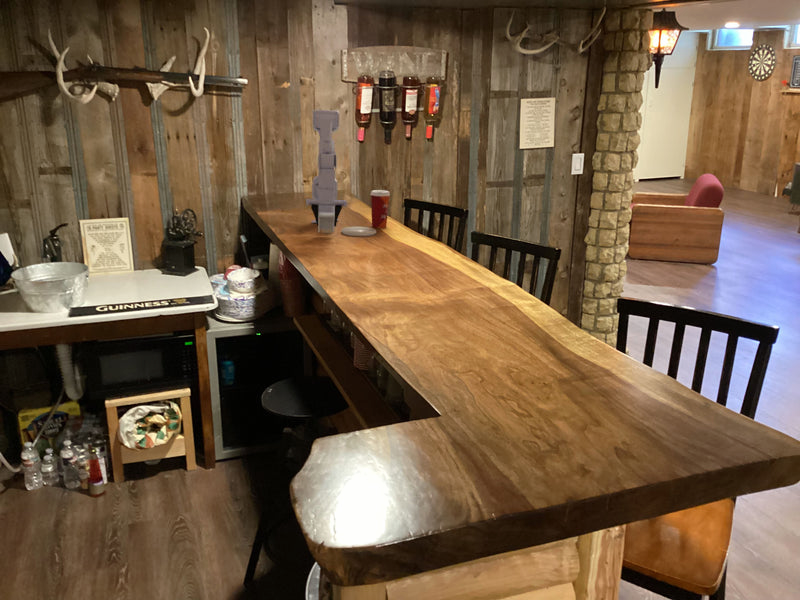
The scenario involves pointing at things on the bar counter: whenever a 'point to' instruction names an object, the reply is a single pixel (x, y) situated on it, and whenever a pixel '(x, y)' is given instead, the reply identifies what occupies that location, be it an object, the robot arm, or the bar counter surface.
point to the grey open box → (326, 221)
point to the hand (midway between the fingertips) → (326, 225)
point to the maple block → (327, 231)
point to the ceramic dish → (358, 231)
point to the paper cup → (379, 208)
